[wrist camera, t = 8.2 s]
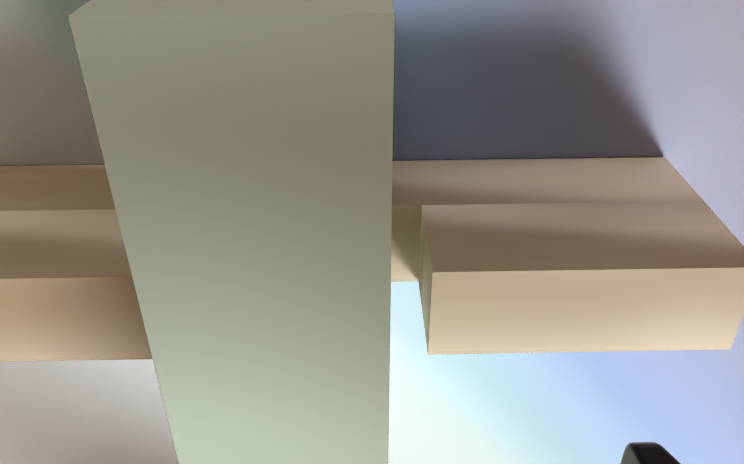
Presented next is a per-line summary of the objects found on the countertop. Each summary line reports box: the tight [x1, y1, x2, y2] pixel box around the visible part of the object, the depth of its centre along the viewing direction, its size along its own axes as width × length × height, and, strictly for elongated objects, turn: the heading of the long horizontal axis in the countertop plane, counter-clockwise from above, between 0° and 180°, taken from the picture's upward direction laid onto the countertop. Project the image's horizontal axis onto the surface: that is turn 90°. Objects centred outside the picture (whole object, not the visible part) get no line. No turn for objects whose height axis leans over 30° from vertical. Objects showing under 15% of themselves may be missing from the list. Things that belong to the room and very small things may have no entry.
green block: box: [68, 0, 395, 464], centre depth 12 cm, size 14×2×10 cm, turn 0°
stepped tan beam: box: [0, 157, 744, 362], centre depth 14 cm, size 2×16×4 cm, turn 90°
